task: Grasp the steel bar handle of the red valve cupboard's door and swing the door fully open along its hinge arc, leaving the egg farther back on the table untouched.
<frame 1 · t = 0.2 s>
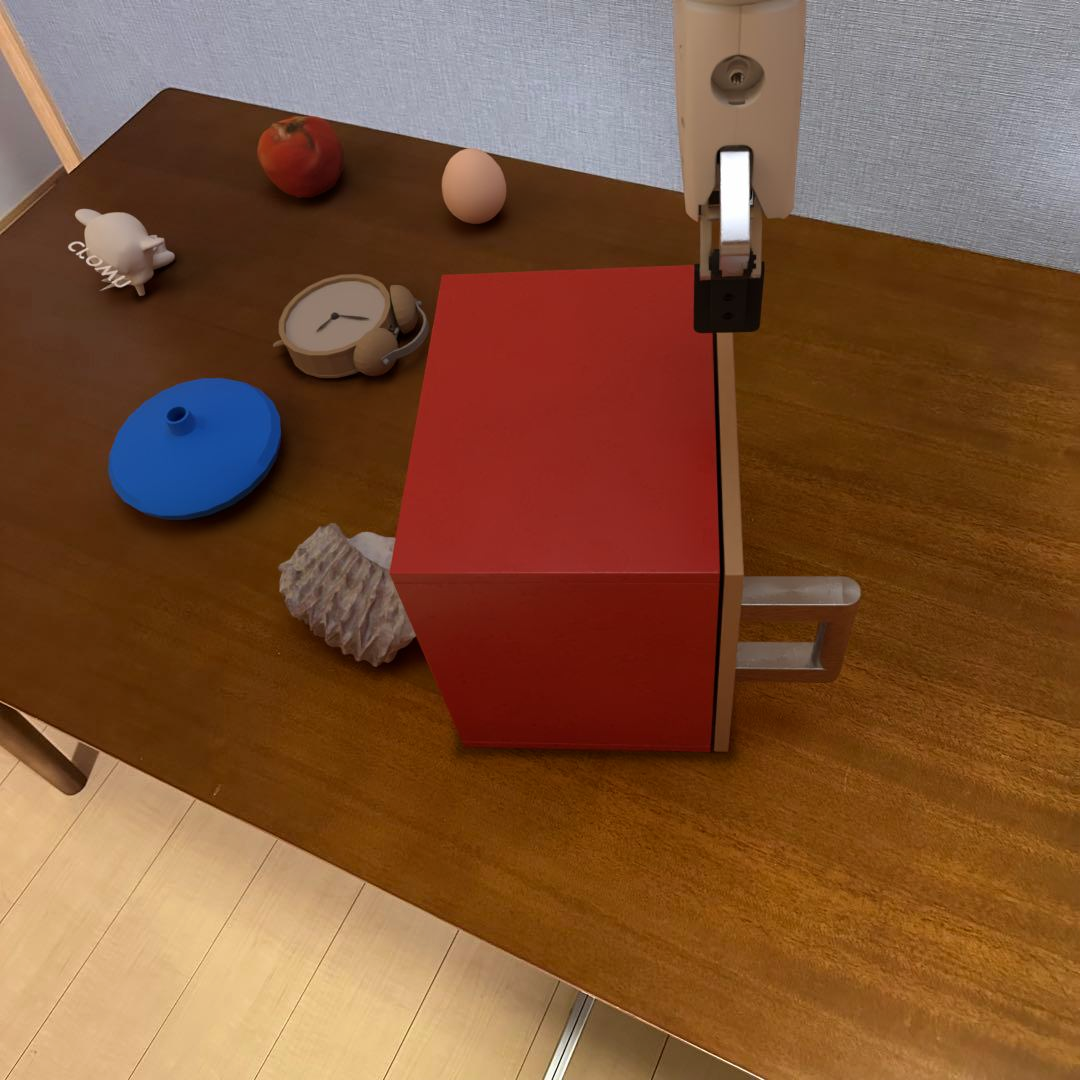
hand: (723, 261, 54), 34 cm above the table, tool pointing down, fingers open, 9 cm apart
tomato: (312, 186, 118), on the table
door: (773, 518, 71), point 12 cm above the table, hinge at 0.0°
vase: (207, 466, 96), on the table
seashell: (372, 607, 85), on the table
alarm clock: (361, 343, 103), on the table
valve cupboard: (592, 607, 83), on the table
egg: (480, 218, 111), on the table
figurine: (141, 283, 112), on the table
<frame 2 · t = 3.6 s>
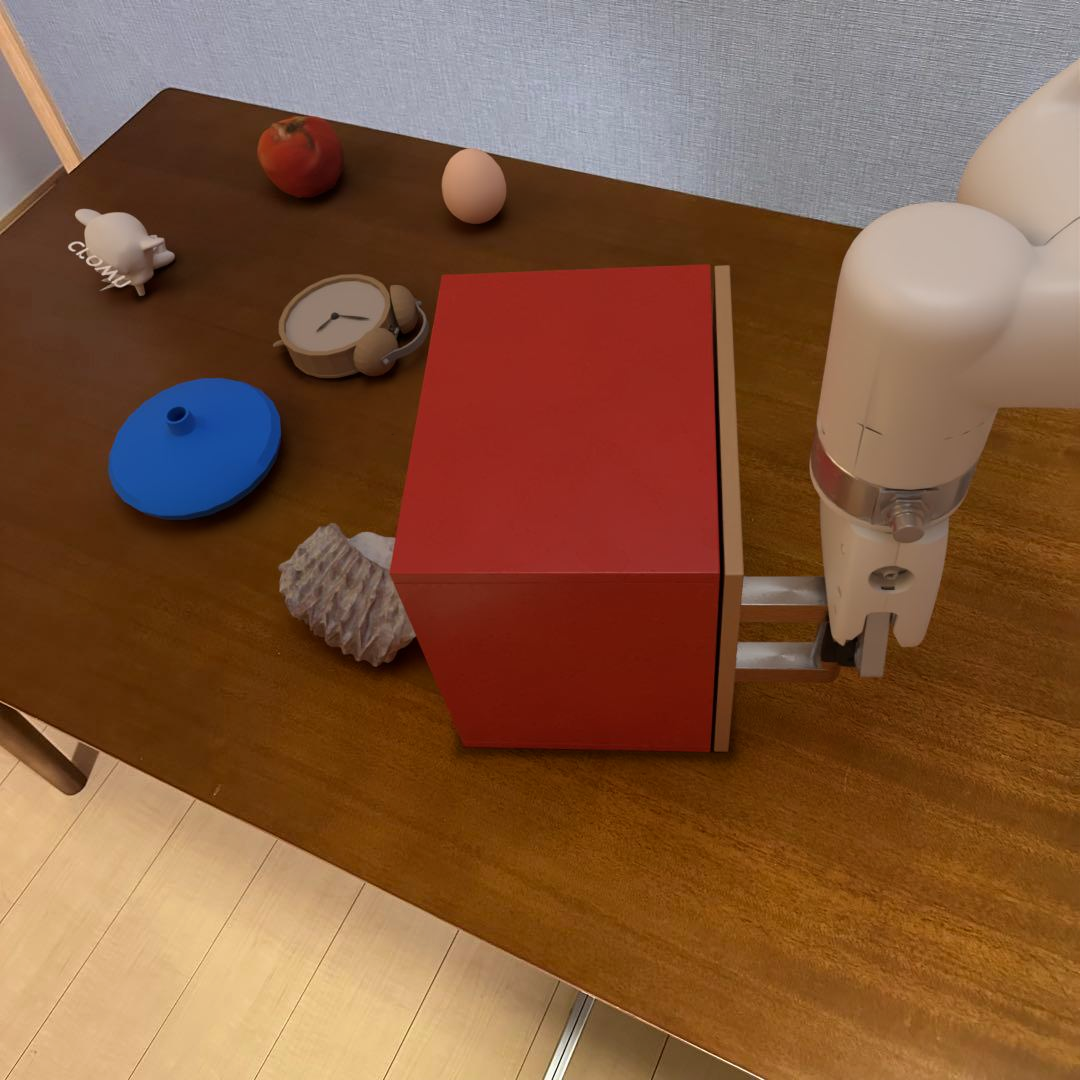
hand: (844, 636, 65), 13 cm above the table, tool pointing down, fingers closed on door, 2 cm apart
door: (773, 518, 71), point 12 cm above the table, hinge at 0.0°, touching gripper
everything else where it was.
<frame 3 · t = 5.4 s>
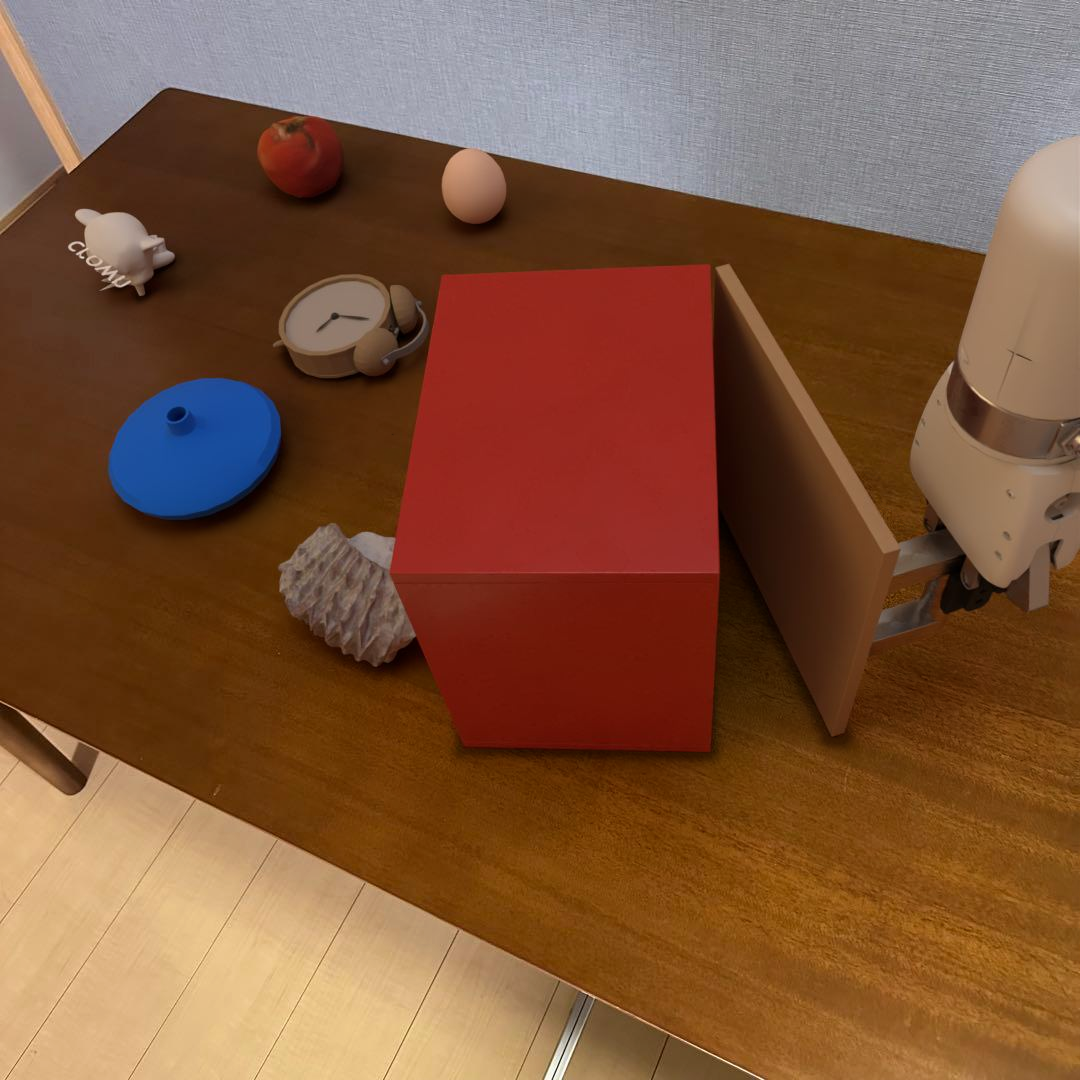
hand: (951, 584, 66), 13 cm above the table, tool pointing down, fingers closed on door, 2 cm apart
door: (830, 494, 72), point 12 cm above the table, hinge at 20.1°, touching gripper
everything else where it was.
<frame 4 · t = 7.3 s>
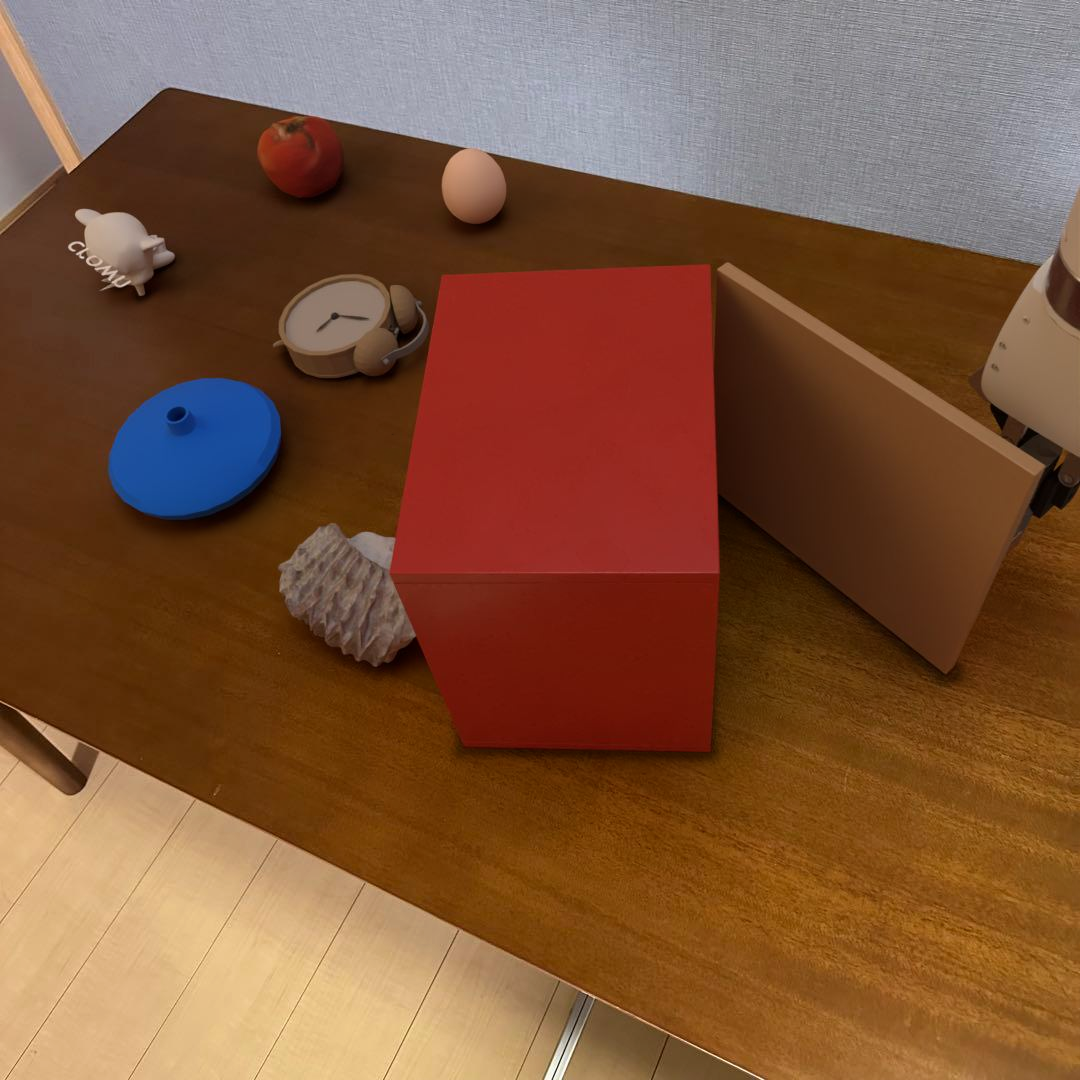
hand: (1030, 490, 69), 13 cm above the table, tool pointing down, fingers closed on door, 2 cm apart
door: (875, 450, 73), point 12 cm above the table, hinge at 43.7°, touching gripper
everything else where it was.
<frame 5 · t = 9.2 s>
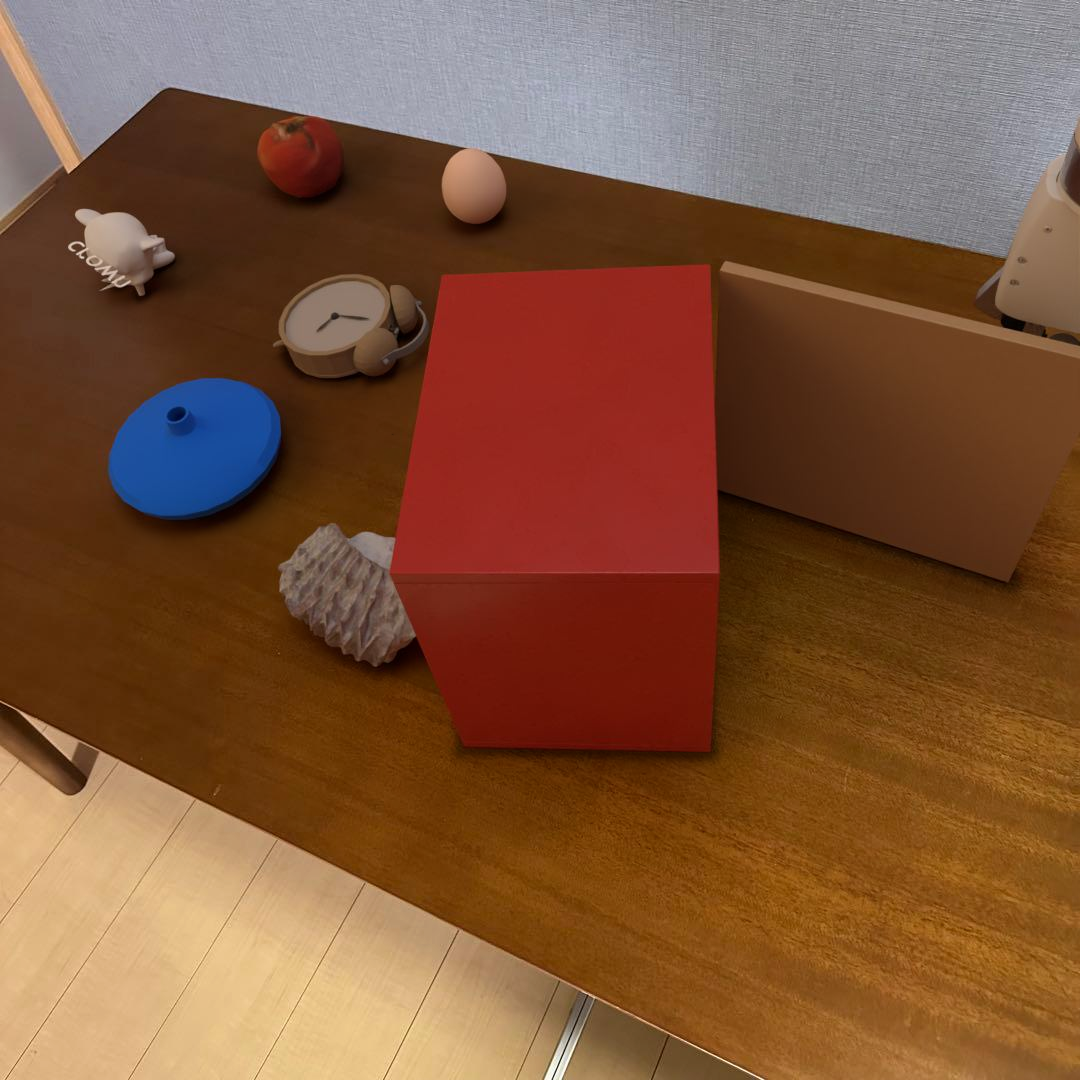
hand: (1043, 387, 74), 13 cm above the table, tool pointing down, fingers closed on door, 2 cm apart
door: (891, 398, 76), point 12 cm above the table, hinge at 67.0°, touching gripper
everything else where it was.
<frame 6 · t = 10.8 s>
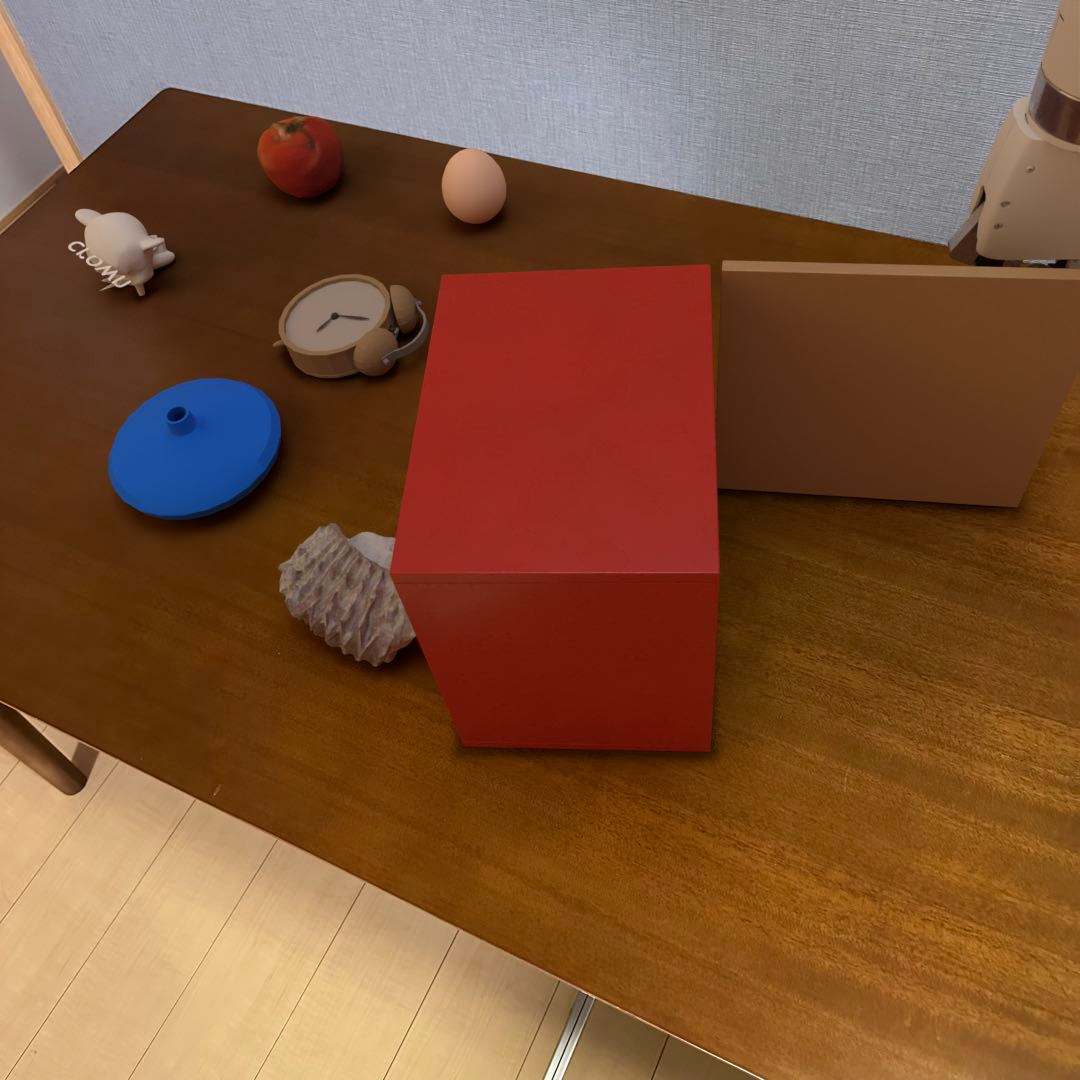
hand: (1017, 318, 78), 13 cm above the table, tool pointing down, fingers closed on door, 2 cm apart
door: (883, 360, 78), point 12 cm above the table, hinge at 84.5°, touching gripper
everything else where it was.
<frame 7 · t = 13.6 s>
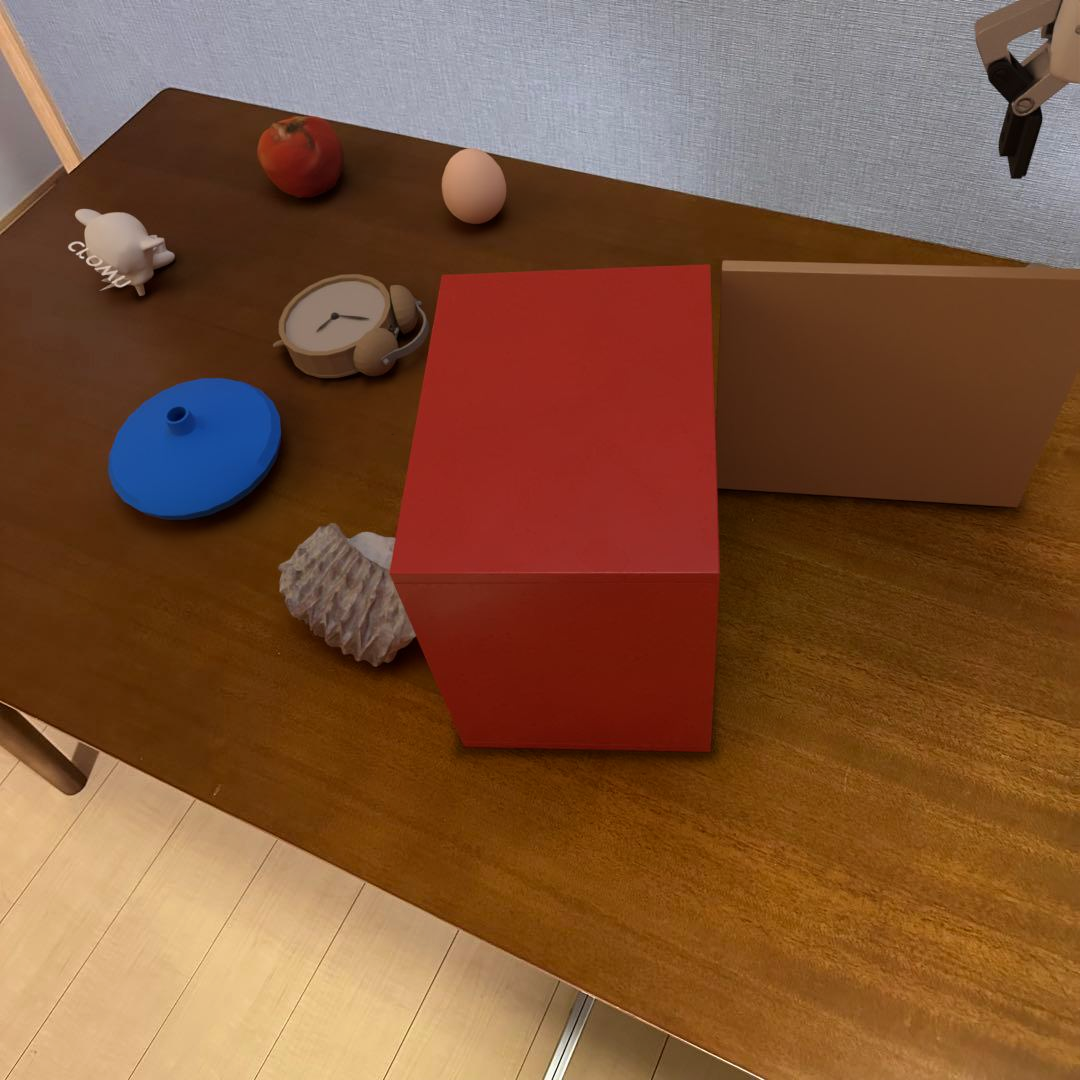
door: (883, 360, 78), point 12 cm above the table, hinge at 84.5°
everything else where it was.
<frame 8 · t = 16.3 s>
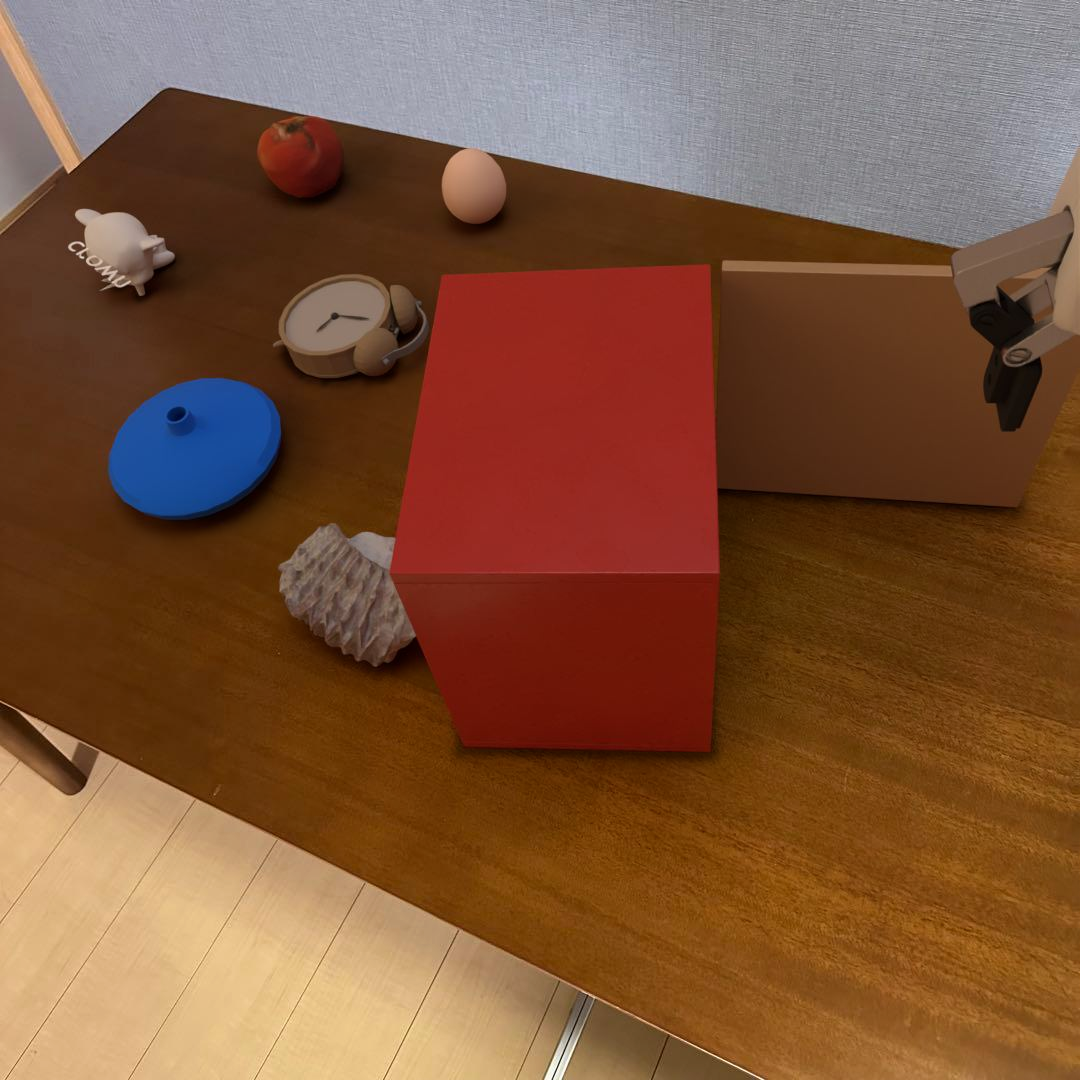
nothing on the table moved.
at the end: door at +84° (first picture: +0°); egg moved 0.2 cm from its start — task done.
